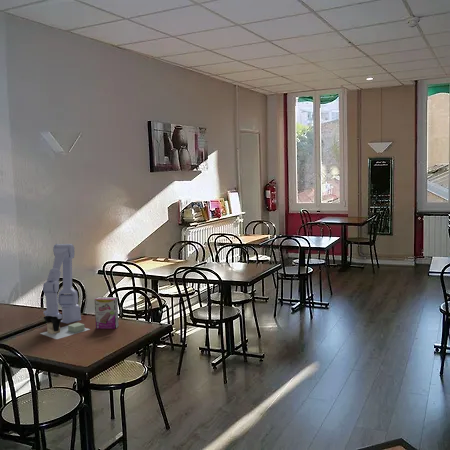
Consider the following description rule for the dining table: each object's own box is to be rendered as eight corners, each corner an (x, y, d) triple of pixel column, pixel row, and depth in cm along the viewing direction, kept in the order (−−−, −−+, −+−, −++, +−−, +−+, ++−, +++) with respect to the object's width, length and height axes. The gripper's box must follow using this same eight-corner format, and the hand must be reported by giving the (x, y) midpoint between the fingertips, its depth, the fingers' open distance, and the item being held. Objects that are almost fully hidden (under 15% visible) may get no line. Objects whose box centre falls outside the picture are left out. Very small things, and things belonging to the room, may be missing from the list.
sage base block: (78, 327, 280) (77, 322, 279) (84, 329, 276) (84, 324, 275) (68, 330, 275) (67, 325, 275) (74, 332, 271) (74, 327, 271)
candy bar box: (95, 329, 278) (93, 299, 276) (98, 326, 282) (97, 296, 281) (116, 329, 276) (114, 299, 275) (119, 326, 281) (117, 296, 280)
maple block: (55, 330, 276) (54, 321, 276) (60, 332, 274) (59, 322, 273) (47, 332, 273) (47, 323, 273) (52, 334, 270) (51, 324, 270)
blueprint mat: (73, 324, 287) (73, 324, 287) (90, 330, 277) (90, 329, 277) (39, 334, 272) (39, 333, 272) (56, 340, 262) (56, 339, 262)
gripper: (37, 304, 273) (39, 329, 275) (52, 308, 264) (54, 334, 265) (49, 301, 279) (51, 326, 280) (65, 305, 269) (66, 331, 271)
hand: (53, 330), depth 273 cm, fingers closed on maple block, 4 cm apart
